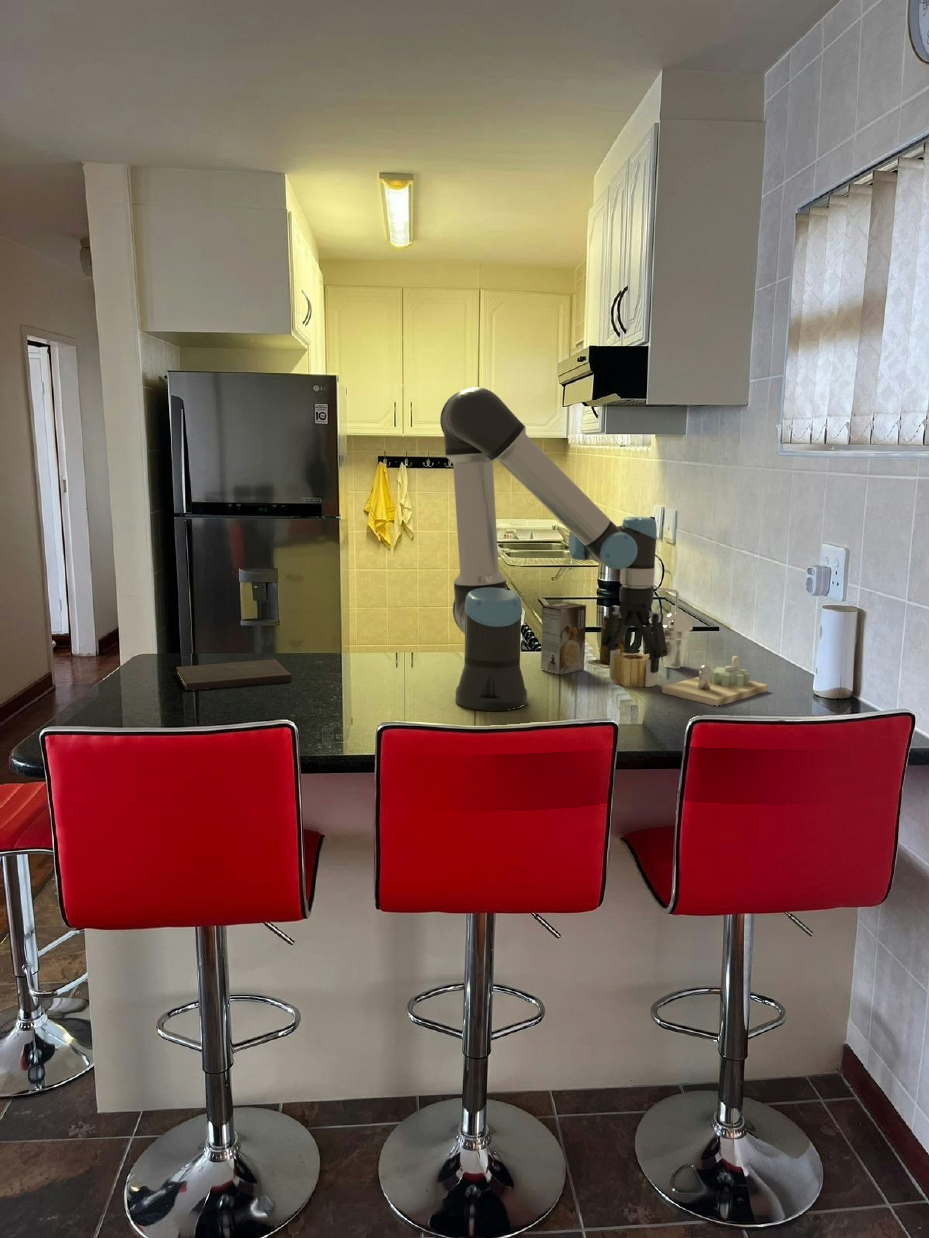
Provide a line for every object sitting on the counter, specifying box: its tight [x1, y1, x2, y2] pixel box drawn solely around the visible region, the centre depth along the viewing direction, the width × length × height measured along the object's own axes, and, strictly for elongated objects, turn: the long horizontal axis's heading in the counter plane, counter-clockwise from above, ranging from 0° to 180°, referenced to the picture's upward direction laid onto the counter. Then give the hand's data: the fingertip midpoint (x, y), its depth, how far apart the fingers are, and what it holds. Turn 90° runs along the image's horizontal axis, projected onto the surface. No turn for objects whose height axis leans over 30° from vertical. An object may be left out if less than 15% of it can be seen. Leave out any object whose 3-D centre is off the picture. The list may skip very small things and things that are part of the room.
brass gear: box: [611, 652, 650, 688], centre depth 208 cm, size 9×9×6 cm
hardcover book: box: [176, 658, 292, 691], centre depth 206 cm, size 16×23×2 cm
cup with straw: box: [656, 586, 693, 669], centre depth 223 cm, size 8×9×20 cm
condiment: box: [587, 614, 626, 668], centre depth 226 cm, size 7×8×12 cm
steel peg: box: [698, 664, 712, 690], centre depth 197 cm, size 3×3×5 cm
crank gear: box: [710, 655, 751, 687], centre depth 204 cm, size 9×9×6 cm
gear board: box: [661, 676, 769, 707], centre depth 201 cm, size 20×14×2 cm
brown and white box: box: [540, 601, 587, 675], centre depth 217 cm, size 9×6×16 cm
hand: (631, 681), depth 208 cm, fingers open, 10 cm apart
